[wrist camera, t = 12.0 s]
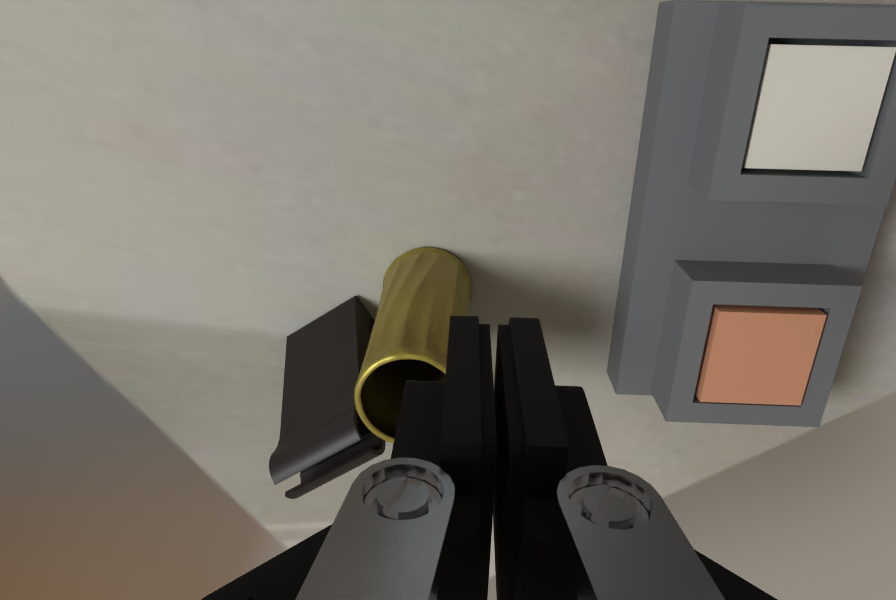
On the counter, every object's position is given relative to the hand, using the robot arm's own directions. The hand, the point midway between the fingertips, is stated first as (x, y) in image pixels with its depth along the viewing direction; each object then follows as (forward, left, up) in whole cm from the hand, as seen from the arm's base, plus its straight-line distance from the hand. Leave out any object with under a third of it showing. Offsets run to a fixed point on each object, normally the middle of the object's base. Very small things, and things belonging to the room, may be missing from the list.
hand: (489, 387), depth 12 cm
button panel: (+4, +17, -29) cm, 34 cm away
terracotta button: (+11, +17, -25) cm, 32 cm away
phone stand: (+16, -8, -29) cm, 34 cm away
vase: (+10, -3, -29) cm, 31 cm away
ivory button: (-3, +17, -26) cm, 31 cm away
